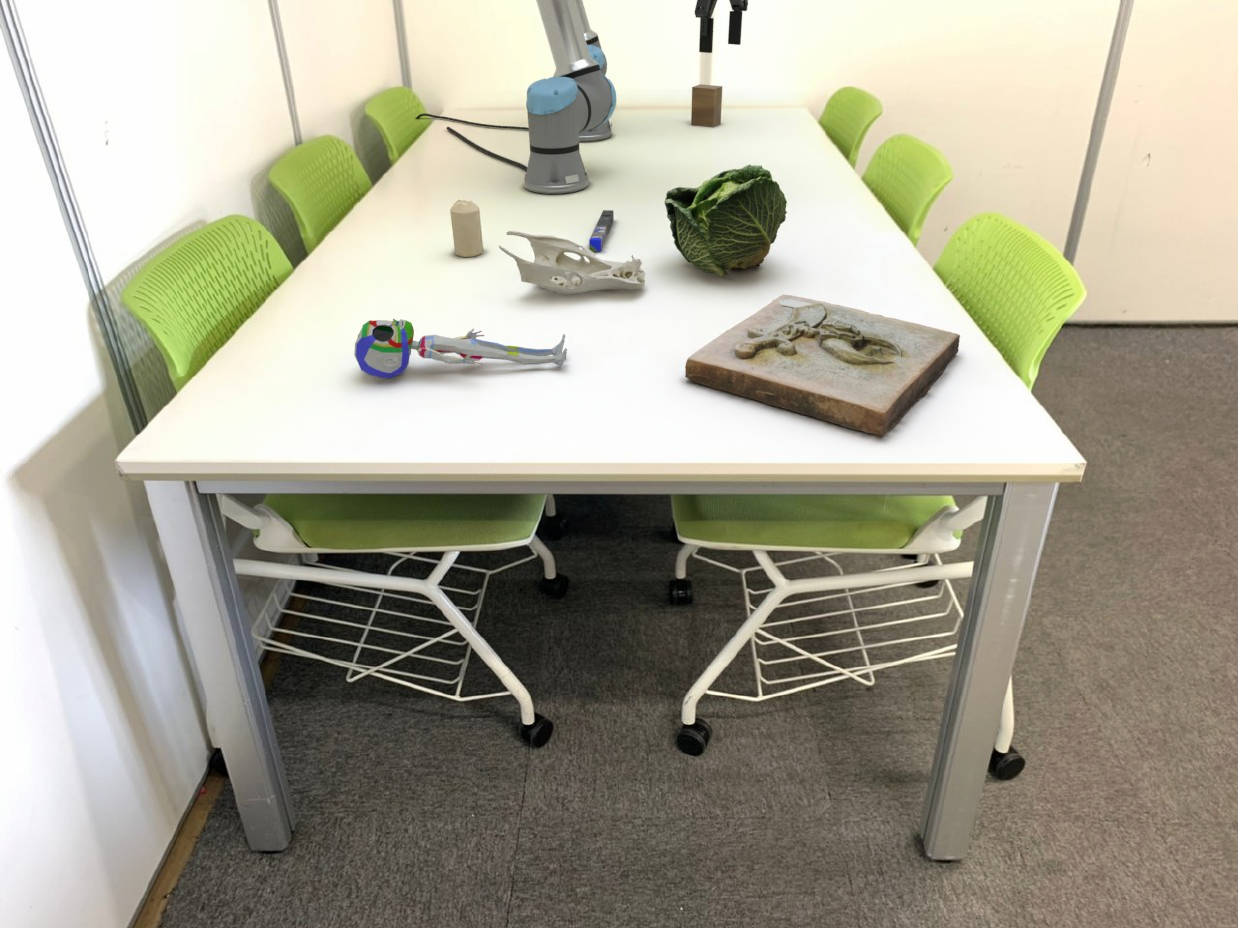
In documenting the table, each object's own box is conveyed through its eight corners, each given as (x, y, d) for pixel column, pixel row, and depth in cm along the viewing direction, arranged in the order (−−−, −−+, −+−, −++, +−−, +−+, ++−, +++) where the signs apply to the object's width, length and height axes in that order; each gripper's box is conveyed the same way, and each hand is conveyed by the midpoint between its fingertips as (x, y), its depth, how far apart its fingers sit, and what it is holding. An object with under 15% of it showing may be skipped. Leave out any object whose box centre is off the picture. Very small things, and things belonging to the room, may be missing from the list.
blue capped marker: (613, 210, 190) (600, 241, 173) (613, 220, 191) (600, 251, 174) (603, 210, 190) (589, 240, 173) (603, 220, 191) (589, 251, 174)
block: (713, 127, 268) (714, 89, 262) (691, 124, 271) (692, 87, 265) (720, 124, 271) (722, 86, 266) (698, 121, 275) (700, 84, 269)
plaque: (892, 390, 109) (684, 332, 124) (883, 441, 113) (682, 379, 127) (971, 312, 130) (784, 271, 145) (961, 357, 134) (780, 312, 148)
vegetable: (694, 294, 173) (643, 202, 166) (775, 239, 175) (728, 145, 167) (734, 307, 155) (678, 205, 147) (824, 245, 156) (773, 141, 149)
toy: (569, 347, 126) (349, 329, 122) (563, 400, 131) (350, 385, 126) (565, 318, 135) (359, 301, 130) (559, 369, 139) (360, 354, 134)
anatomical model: (512, 224, 162) (649, 224, 158) (517, 273, 167) (650, 274, 163) (490, 252, 149) (637, 253, 146) (496, 304, 154) (639, 306, 151)
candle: (488, 249, 176) (483, 198, 171) (475, 258, 172) (470, 206, 167) (463, 246, 178) (457, 196, 173) (450, 255, 174) (443, 204, 168)
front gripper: (714, -64, 171) (709, 57, 183) (768, -68, 189) (760, 42, 200) (679, -64, 175) (676, 54, 186) (736, -69, 192) (730, 40, 204)
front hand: (720, 48), depth 193 cm, fingers open, 13 cm apart
